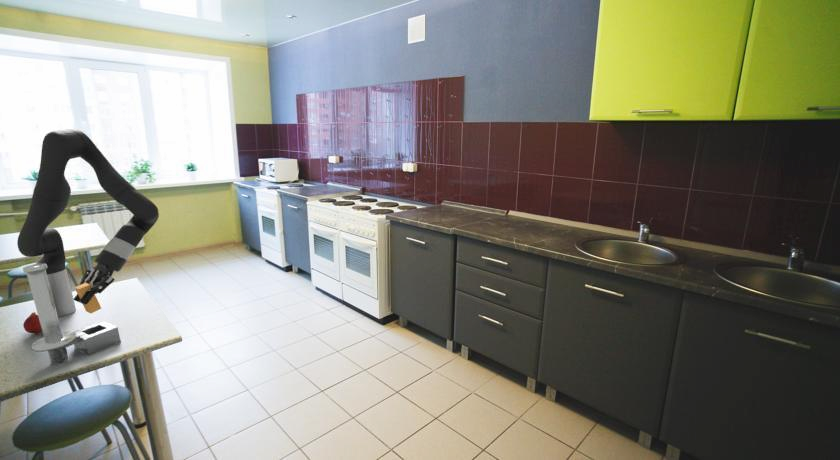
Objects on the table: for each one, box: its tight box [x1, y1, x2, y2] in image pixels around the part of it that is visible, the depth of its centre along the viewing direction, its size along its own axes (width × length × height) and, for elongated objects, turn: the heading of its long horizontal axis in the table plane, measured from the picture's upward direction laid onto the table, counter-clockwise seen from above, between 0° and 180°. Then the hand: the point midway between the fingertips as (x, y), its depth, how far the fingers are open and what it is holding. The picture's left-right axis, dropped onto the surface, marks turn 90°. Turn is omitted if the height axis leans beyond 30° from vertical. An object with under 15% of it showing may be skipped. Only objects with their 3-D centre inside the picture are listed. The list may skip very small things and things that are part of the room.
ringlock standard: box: [22, 263, 121, 365], centre depth 121 cm, size 10×20×30 cm, turn 152°
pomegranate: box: [23, 311, 43, 335], centre depth 135 cm, size 6×6×8 cm
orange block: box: [74, 282, 102, 314], centre depth 125 cm, size 3×3×9 cm
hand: (79, 302), depth 123 cm, fingers closed on orange block, 3 cm apart
